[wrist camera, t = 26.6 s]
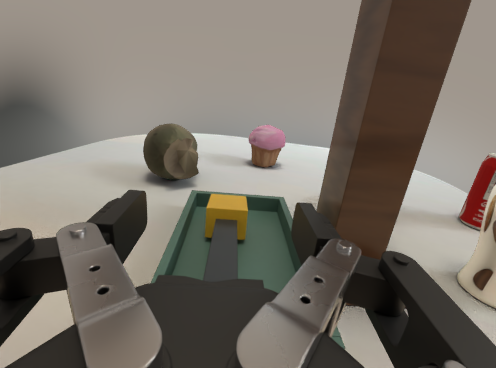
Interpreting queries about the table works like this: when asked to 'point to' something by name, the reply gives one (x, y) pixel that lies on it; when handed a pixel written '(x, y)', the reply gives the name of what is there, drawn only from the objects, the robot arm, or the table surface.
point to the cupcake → (266, 145)
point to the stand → (386, 113)
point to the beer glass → (483, 259)
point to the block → (224, 235)
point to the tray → (249, 250)
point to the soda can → (479, 193)
